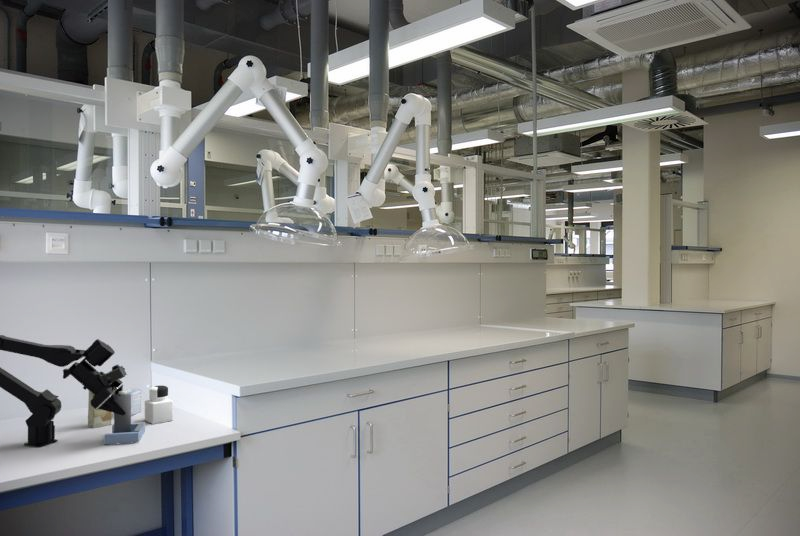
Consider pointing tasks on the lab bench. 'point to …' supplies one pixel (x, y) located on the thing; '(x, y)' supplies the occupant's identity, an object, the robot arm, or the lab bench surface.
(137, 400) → the medicine box
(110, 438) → the socket cradle
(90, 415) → the skincare box
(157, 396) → the medicine bottle
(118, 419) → the grey cylindrical bottle
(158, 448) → the lab bench surface
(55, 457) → the lab bench surface
